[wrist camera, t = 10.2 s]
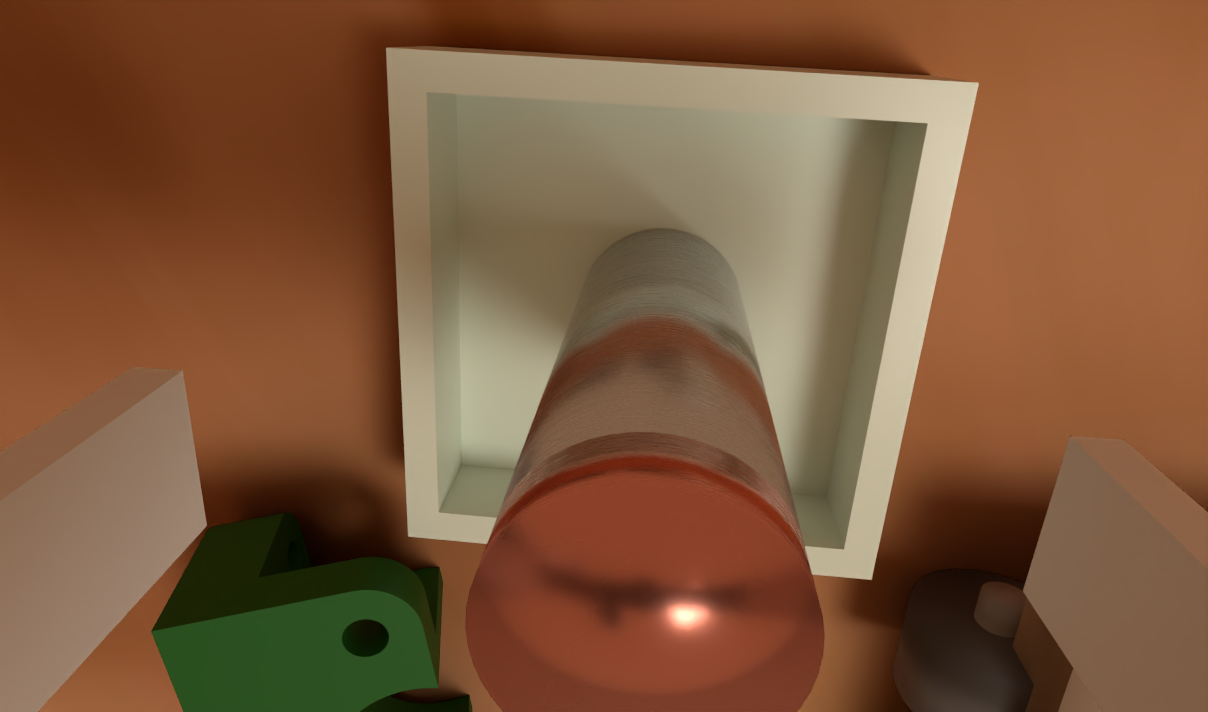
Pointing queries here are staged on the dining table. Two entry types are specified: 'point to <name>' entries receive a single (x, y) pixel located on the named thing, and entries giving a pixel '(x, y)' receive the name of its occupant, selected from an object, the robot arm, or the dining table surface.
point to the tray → (673, 201)
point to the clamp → (299, 627)
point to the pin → (649, 511)
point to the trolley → (981, 650)
